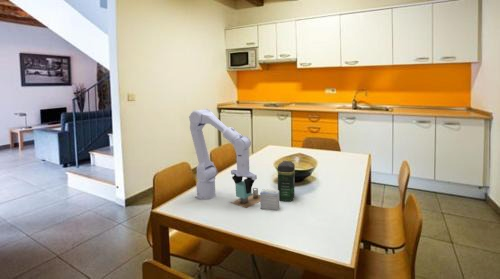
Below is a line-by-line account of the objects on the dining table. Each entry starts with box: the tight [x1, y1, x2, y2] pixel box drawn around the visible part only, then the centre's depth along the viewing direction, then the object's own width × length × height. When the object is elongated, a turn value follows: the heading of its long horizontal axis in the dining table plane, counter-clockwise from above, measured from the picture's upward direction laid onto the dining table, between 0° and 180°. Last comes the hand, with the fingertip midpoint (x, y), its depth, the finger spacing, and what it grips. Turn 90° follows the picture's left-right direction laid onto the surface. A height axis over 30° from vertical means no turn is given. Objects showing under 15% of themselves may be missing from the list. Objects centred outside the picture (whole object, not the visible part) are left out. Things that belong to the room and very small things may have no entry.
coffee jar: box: [277, 160, 296, 203], centre depth 144 cm, size 10×8×19 cm
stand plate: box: [230, 192, 261, 209], centre depth 144 cm, size 10×16×1 cm, turn 138°
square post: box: [239, 197, 248, 204], centre depth 141 cm, size 3×3×4 cm
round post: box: [252, 187, 259, 199], centre depth 146 cm, size 3×3×4 cm
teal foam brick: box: [234, 180, 253, 199], centre depth 140 cm, size 5×5×6 cm
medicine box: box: [259, 188, 281, 211], centre depth 134 cm, size 8×4×9 cm, turn 74°
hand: (244, 191), depth 140 cm, fingers closed on teal foam brick, 5 cm apart
